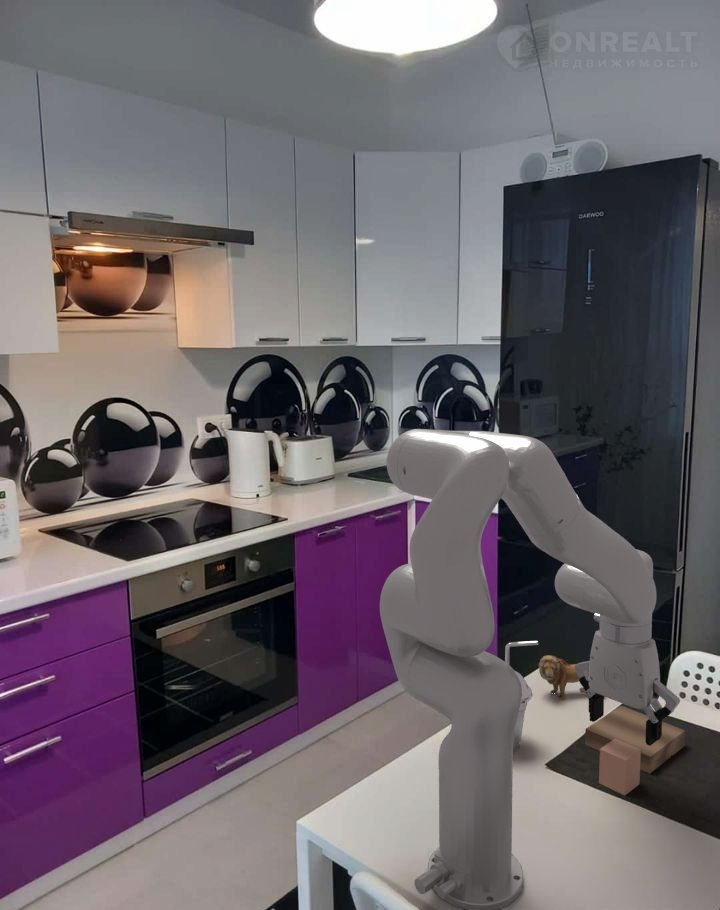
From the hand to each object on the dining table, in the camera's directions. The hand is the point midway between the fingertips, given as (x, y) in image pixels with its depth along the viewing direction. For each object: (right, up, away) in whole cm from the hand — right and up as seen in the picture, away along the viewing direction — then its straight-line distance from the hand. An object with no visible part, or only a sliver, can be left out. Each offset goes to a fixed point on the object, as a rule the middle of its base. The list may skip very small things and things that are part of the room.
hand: (623, 729), depth 118 cm
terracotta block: (0, -9, +1) cm, 9 cm away
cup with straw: (-16, -8, +13) cm, 22 cm away
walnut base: (+6, -7, +12) cm, 15 cm away
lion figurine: (0, -5, +30) cm, 30 cm away
